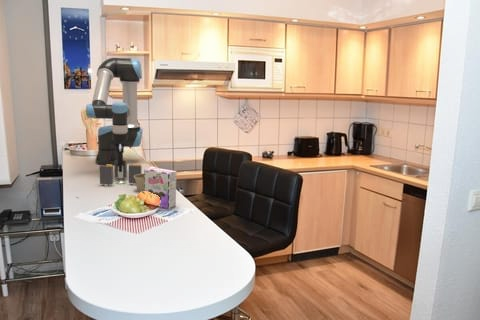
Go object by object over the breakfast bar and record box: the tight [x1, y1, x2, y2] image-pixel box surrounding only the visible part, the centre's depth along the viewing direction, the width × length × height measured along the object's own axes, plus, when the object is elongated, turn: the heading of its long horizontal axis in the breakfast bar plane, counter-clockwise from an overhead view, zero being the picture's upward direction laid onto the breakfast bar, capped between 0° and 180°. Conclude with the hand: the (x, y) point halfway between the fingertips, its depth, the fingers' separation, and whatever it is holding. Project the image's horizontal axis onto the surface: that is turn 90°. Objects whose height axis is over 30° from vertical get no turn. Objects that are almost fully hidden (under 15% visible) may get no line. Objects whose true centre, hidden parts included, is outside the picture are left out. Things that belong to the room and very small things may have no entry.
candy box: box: [143, 166, 177, 210], centre depth 183 cm, size 14×6×16 cm, turn 62°
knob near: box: [113, 158, 128, 180], centre depth 217 cm, size 2×6×11 cm, turn 88°
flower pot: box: [134, 173, 144, 193], centre depth 200 cm, size 9×9×9 cm
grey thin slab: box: [128, 163, 143, 186], centre depth 208 cm, size 2×6×11 cm, turn 86°
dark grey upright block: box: [99, 164, 114, 187], centre depth 204 cm, size 2×6×11 cm, turn 86°
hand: (120, 176), depth 218 cm, fingers closed on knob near, 3 cm apart
